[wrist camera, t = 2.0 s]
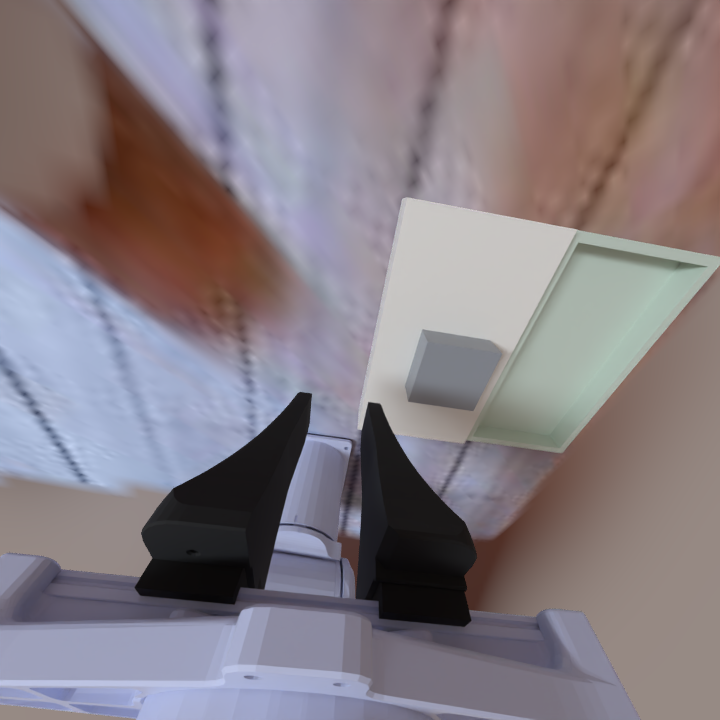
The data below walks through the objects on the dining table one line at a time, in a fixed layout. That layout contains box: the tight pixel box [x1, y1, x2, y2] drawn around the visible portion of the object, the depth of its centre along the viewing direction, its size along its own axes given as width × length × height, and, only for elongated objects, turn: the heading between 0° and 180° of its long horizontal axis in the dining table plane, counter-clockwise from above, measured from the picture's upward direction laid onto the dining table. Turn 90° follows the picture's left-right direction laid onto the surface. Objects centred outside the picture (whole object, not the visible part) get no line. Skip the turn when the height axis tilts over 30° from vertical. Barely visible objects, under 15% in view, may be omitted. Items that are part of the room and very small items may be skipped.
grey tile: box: [405, 329, 502, 411], centre depth 19 cm, size 5×5×2 cm
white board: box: [358, 198, 577, 444], centre depth 20 cm, size 18×10×2 cm, turn 171°
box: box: [466, 230, 720, 453], centre depth 21 cm, size 18×10×2 cm, turn 171°
